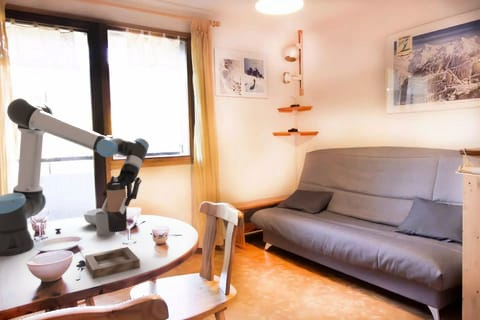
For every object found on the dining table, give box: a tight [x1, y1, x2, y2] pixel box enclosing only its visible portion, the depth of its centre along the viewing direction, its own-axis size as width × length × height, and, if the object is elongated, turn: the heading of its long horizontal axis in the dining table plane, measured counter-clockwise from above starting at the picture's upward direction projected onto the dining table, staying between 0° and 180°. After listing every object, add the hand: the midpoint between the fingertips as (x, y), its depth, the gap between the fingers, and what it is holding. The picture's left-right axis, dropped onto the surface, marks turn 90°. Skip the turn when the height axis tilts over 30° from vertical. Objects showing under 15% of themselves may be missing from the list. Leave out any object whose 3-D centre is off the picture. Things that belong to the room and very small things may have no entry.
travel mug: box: [105, 181, 128, 233], centre depth 144 cm, size 8×8×20 cm
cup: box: [95, 211, 115, 236], centre depth 169 cm, size 8×8×10 cm
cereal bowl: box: [83, 207, 102, 227], centre depth 184 cm, size 17×17×7 cm
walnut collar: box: [84, 246, 141, 279], centre depth 129 cm, size 16×16×3 cm
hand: (112, 211), depth 141 cm, fingers closed on travel mug, 7 cm apart
